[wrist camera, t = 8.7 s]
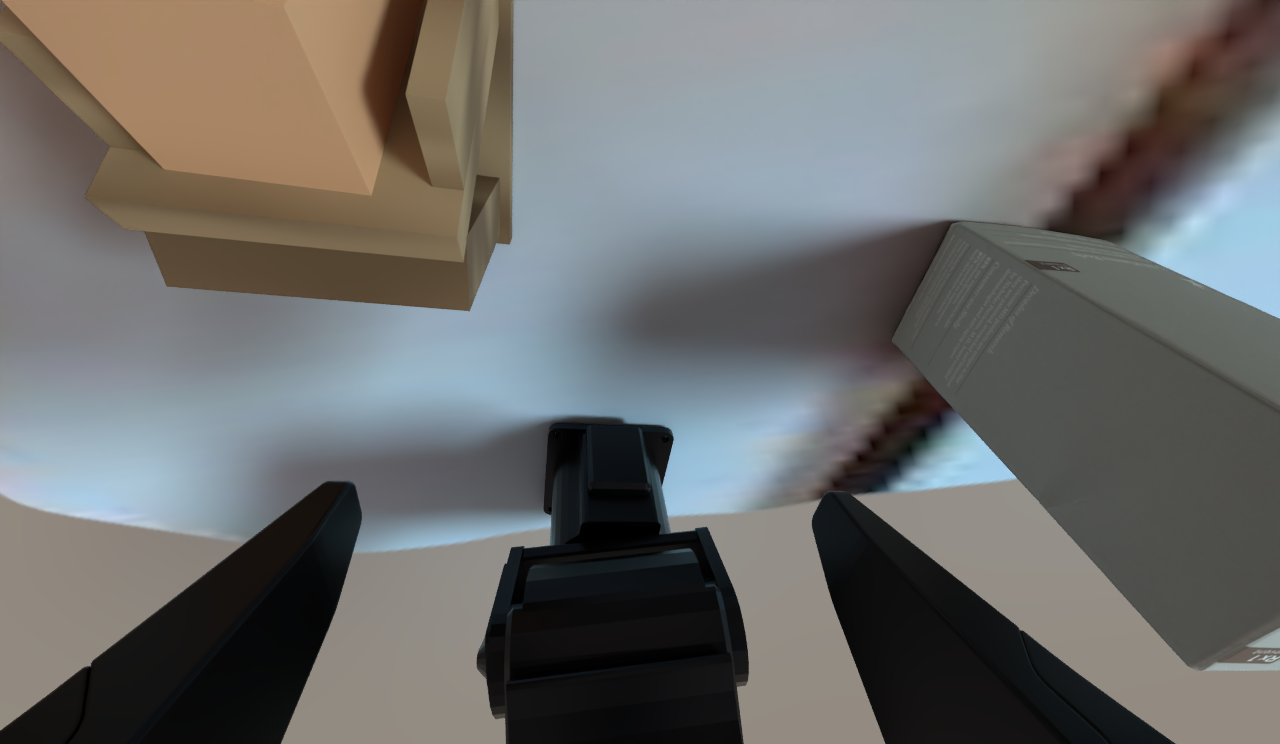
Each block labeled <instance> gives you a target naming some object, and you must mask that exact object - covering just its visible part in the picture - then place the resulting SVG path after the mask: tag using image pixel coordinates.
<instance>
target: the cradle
mask: <svg viewBox="0 0 1280 744" xmlns="http://www.w3.org/2000/svg"><path fill="white" fill-rule="evenodd" d="M0 42H1V43H2V44H3V45H4V46H5V47H6V48H7V49H8V50H10V51H11V52H12V53H13V54H14V55H15V56H16V57H17V58H18V59H19V60H20V61H21V62H22V63H23V64H24V65H25V66H26V67H27V68H28V69H29V70H30V71H31V72H32V73H33V74H34V75H36V76H37V77H38V78H39V79H40V80H41V81H42V82H43V83H44V84H45V85H46V86H47V87H48V88H49V89H50V90H51V91H52V92H53V93H54V94H55V95H56V96H57V97H58V98H59V99H60V100H62V101H63V102H64V103H65V104H66V105H67V106H68V107H69V108H70V109H71V110H72V111H73V112H74V113H75V114H76V115H77V116H78V117H79V118H80V119H81V120H82V121H83V122H84V123H85V124H86V125H88V126H89V127H90V128H91V129H92V130H93V131H94V132H95V133H96V134H97V135H98V136H99V137H100V138H101V139H102V140H103V141H104V142H105V143H106V144H107V145H108V146H109V147H110V148H109V150H108V152H107V154H106V156H105V158H104V160H103V162H102V164H101V166H100V168H99V169H98V171H97V173H96V175H95V177H94V179H93V181H92V183H91V185H90V187H89V189H88V191H87V193H86V195H85V197H84V198H86V199H87V200H88V201H89V202H91V203H92V204H93V205H95V206H96V207H97V208H98V209H100V210H101V211H102V212H103V213H105V214H106V215H107V216H108V217H110V218H111V219H112V220H113V221H115V222H116V223H117V224H118V225H120V226H121V227H122V228H123V229H127V230H138V231H144V232H145V234H146V237H147V239H148V242H149V244H150V246H151V249H152V251H153V254H154V256H155V259H156V261H157V263H158V266H159V268H160V271H161V273H162V276H163V278H164V280H165V283H166V285H167V286H168V287H180V288H193V289H205V290H217V291H230V292H242V293H254V294H267V295H279V296H291V297H304V298H316V299H328V300H341V301H353V302H365V303H378V304H390V305H402V306H415V307H427V308H439V309H452V310H464V311H470V309H471V306H472V304H473V301H474V298H475V296H476V293H477V291H478V288H479V286H480V283H481V281H482V278H483V276H484V273H485V271H486V268H487V265H488V263H489V260H490V258H491V255H492V253H493V250H494V248H495V245H496V243H501V244H510V242H511V239H512V142H513V0H423V3H422V7H421V11H420V14H419V18H418V22H417V26H416V29H415V33H414V37H413V41H412V45H411V48H410V52H409V56H408V60H407V63H406V67H405V71H404V75H403V79H402V82H401V86H400V90H399V94H398V97H397V101H396V105H395V109H394V113H393V116H392V120H391V124H390V128H389V131H388V135H387V139H386V143H385V147H384V150H383V154H382V158H381V162H380V165H379V169H378V173H377V177H376V180H375V184H374V188H373V192H372V196H369V195H361V194H353V193H345V192H338V191H330V190H322V189H314V188H306V187H298V186H291V185H283V184H275V183H267V182H259V181H251V180H244V179H236V178H228V177H220V176H212V175H204V174H197V173H189V172H181V171H173V170H165V169H163V168H162V167H161V166H160V165H159V164H158V163H157V162H156V160H155V159H154V158H153V157H152V156H151V155H150V154H149V153H148V152H147V151H146V150H145V149H144V148H143V147H142V146H141V145H140V144H139V143H138V142H137V141H136V140H135V139H134V138H133V137H132V136H131V134H130V133H129V132H128V131H127V130H126V129H125V128H124V127H123V126H122V125H121V124H120V123H119V122H118V121H117V120H116V119H115V118H114V117H113V116H112V115H111V114H110V113H109V112H108V111H107V110H106V108H105V107H104V106H103V105H102V104H101V103H100V102H99V101H98V100H97V99H96V98H95V97H94V96H93V95H92V94H91V93H90V92H89V91H88V90H87V89H86V88H85V87H84V86H83V85H82V84H81V82H80V81H79V80H78V79H77V78H76V77H75V76H74V75H73V74H72V73H71V72H70V71H69V70H68V69H67V68H66V67H65V66H64V65H63V64H62V63H61V62H60V61H59V60H58V59H57V58H56V56H55V55H54V54H53V53H52V52H51V51H50V50H49V49H48V48H47V47H46V46H45V45H44V44H43V43H42V42H41V41H40V40H39V39H38V38H37V37H36V36H35V35H34V34H33V33H32V32H31V30H30V29H29V28H28V27H27V26H26V25H25V24H24V23H23V22H22V21H21V20H20V19H19V18H18V17H17V16H16V15H15V14H14V13H13V12H12V11H11V10H10V9H9V8H8V7H7V6H5V8H4V9H3V11H2V12H1V13H0Z"/></svg>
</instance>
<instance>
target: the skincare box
mask: <svg viewBox="0 0 1280 744" xmlns="http://www.w3.org/2000/svg"><path fill="white" fill-rule="evenodd" d="M892 343H893V344H895V345H896V346H897V347H898V349H899V350H900V351H901V352H902V353H903V354H904V355H905V356H906V357H907V358H908V359H909V360H910V361H911V362H912V363H913V365H914V366H915V367H916V368H917V369H918V370H919V371H920V372H921V373H922V375H923V376H924V377H925V378H926V379H927V380H928V381H929V382H930V383H931V384H932V386H933V387H934V388H935V389H936V390H937V391H938V392H939V393H940V394H941V395H942V397H943V398H944V399H945V400H946V401H947V402H948V403H949V404H950V405H951V406H952V407H953V409H954V410H955V411H956V412H957V413H958V414H959V415H960V416H961V417H962V418H963V420H964V421H965V422H966V423H967V424H968V425H969V426H970V427H971V428H972V429H973V430H974V431H975V433H976V434H977V435H978V436H979V437H980V438H981V439H982V440H983V441H984V442H985V444H986V445H987V446H988V447H989V448H990V449H991V450H992V451H993V452H994V453H995V455H996V456H997V457H998V458H999V459H1000V460H1001V461H1002V462H1003V463H1004V464H1005V465H1006V466H1007V468H1008V469H1009V470H1010V471H1011V472H1012V473H1013V474H1014V475H1015V476H1016V477H1017V479H1018V480H1019V481H1020V482H1021V483H1022V484H1023V485H1024V486H1025V487H1026V488H1027V489H1028V490H1029V492H1030V493H1031V494H1032V495H1033V496H1034V497H1035V498H1036V499H1037V500H1038V501H1039V502H1040V504H1041V505H1042V506H1043V507H1044V508H1045V509H1046V510H1047V512H1048V513H1049V514H1050V515H1051V516H1052V517H1053V518H1054V519H1055V520H1056V521H1057V523H1058V524H1059V525H1060V526H1061V527H1062V528H1063V529H1064V530H1065V531H1066V532H1067V534H1068V535H1069V536H1070V537H1071V538H1072V539H1073V540H1074V541H1075V542H1076V543H1077V545H1078V546H1079V547H1080V548H1081V549H1082V550H1083V551H1084V552H1085V553H1086V554H1087V556H1088V557H1089V558H1090V559H1091V560H1092V561H1093V562H1094V563H1095V564H1096V566H1097V567H1098V568H1099V569H1100V570H1101V571H1102V572H1103V573H1104V574H1105V576H1106V577H1107V578H1108V579H1109V580H1110V581H1111V582H1112V583H1113V585H1114V586H1115V587H1116V588H1117V589H1118V590H1119V591H1120V592H1121V593H1122V595H1123V596H1124V597H1125V598H1126V599H1127V600H1128V601H1129V602H1130V603H1131V604H1132V606H1133V607H1134V608H1135V609H1136V610H1137V611H1138V612H1139V613H1140V614H1141V615H1142V617H1143V618H1144V619H1145V620H1146V621H1147V622H1148V623H1149V624H1150V625H1151V627H1152V628H1153V629H1154V630H1155V631H1156V632H1157V633H1158V634H1159V635H1160V636H1161V638H1162V639H1163V640H1164V641H1165V642H1166V643H1167V644H1168V645H1169V646H1170V647H1171V648H1172V650H1173V651H1174V652H1175V653H1176V654H1177V655H1178V656H1179V657H1180V658H1181V659H1182V660H1183V661H1184V662H1185V664H1187V666H1189V667H1190V668H1193V669H1195V670H1198V671H1205V670H1239V671H1240V670H1241V671H1243V670H1244V671H1245V670H1246V671H1247V670H1248V671H1253V670H1280V319H1279V318H1277V317H1274V316H1272V315H1270V314H1268V313H1266V312H1263V311H1261V310H1259V309H1257V308H1255V307H1253V306H1250V305H1248V304H1246V303H1244V302H1241V301H1239V300H1237V299H1234V298H1232V297H1230V296H1227V295H1225V294H1223V293H1221V292H1219V291H1217V290H1215V289H1212V288H1210V287H1208V286H1206V285H1204V284H1201V283H1199V282H1197V281H1195V280H1192V279H1190V278H1188V277H1186V276H1183V275H1181V274H1179V273H1177V272H1175V271H1172V270H1170V269H1168V268H1166V267H1163V266H1161V265H1159V264H1157V263H1155V262H1152V261H1150V260H1148V259H1146V258H1144V257H1141V256H1139V255H1137V254H1135V253H1133V252H1131V251H1128V250H1126V249H1124V248H1122V247H1120V246H1118V245H1116V244H1114V243H1111V242H1109V241H1105V240H1099V239H1094V238H1089V237H1084V236H1078V235H1072V234H1066V233H1060V232H1053V231H1047V230H1040V229H1034V228H1025V227H1018V226H1009V225H999V224H987V223H975V222H958V223H953V224H952V225H951V226H950V228H949V230H948V232H947V234H946V236H945V238H944V240H943V242H942V243H941V245H940V247H939V250H938V252H937V254H936V255H935V257H934V259H933V261H932V263H931V265H930V267H929V269H928V271H927V273H926V275H925V277H924V279H923V280H922V282H921V284H920V286H919V288H918V290H917V292H916V294H915V295H914V297H913V299H912V301H911V303H910V305H909V307H908V308H907V310H906V312H905V314H904V316H903V318H902V320H901V322H900V324H899V326H898V328H897V330H896V332H895V334H894V336H893V338H892Z"/></svg>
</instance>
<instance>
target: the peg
mask: <svg viewBox="0 0 1280 744" xmlns="http://www.w3.org/2000/svg"><path fill="white" fill-rule="evenodd" d="M2 1H3V2H4V3H5V4H6V6H7V7H8V8H9V9H10V10H11V11H12V12H13V13H14V14H15V15H16V16H17V17H18V18H19V19H20V20H21V21H22V22H23V23H24V24H25V25H26V26H27V27H28V28H29V29H30V30H31V32H32V33H33V34H34V35H35V36H36V37H37V38H38V39H39V40H40V41H41V42H42V43H43V44H44V45H45V46H46V47H47V48H48V49H49V50H50V51H51V52H52V53H53V54H54V55H55V56H56V58H57V59H58V60H59V61H60V62H61V63H62V64H63V65H64V66H65V67H66V68H67V69H68V70H69V71H70V72H71V73H72V74H73V75H74V76H75V77H76V78H77V79H78V80H79V81H80V82H81V84H82V85H83V86H84V87H85V88H86V89H87V90H88V91H89V92H90V93H91V94H92V95H93V96H94V97H95V98H96V99H97V100H98V101H99V102H100V103H101V104H102V105H103V106H104V107H105V108H106V110H107V111H108V112H109V113H110V114H111V115H112V116H113V117H114V118H115V119H116V120H117V121H118V122H119V123H120V124H121V125H122V126H123V127H124V128H125V129H126V130H127V131H128V132H129V133H130V134H131V136H132V137H133V138H134V139H135V140H136V141H137V142H138V143H139V144H140V145H141V146H142V147H143V148H144V149H145V150H146V151H147V152H148V153H149V154H150V155H151V156H152V157H153V158H154V159H155V160H156V162H157V163H158V164H159V165H160V166H161V167H162V168H163V169H165V170H173V171H181V172H189V173H197V174H204V175H212V176H220V177H228V178H236V179H244V180H251V181H259V182H267V183H275V184H283V185H291V186H298V187H306V188H314V189H322V190H330V191H338V192H345V193H353V194H361V195H369V196H372V192H373V188H374V184H375V180H376V177H377V173H378V169H379V165H380V162H381V158H382V154H383V150H384V147H385V143H386V139H387V135H388V131H389V128H390V124H391V120H392V116H393V113H394V109H395V105H396V101H397V97H398V94H399V90H400V86H401V82H402V79H403V75H404V71H405V67H406V63H407V60H408V56H409V52H410V48H411V45H412V41H413V37H414V33H415V29H416V26H417V22H418V18H419V14H420V11H421V7H422V3H423V0H2Z"/></svg>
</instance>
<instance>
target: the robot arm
mask: <svg viewBox="0 0 1280 744" xmlns="http://www.w3.org/2000/svg"><path fill="white" fill-rule="evenodd" d="M556 432H561V434H555V433H556ZM663 436H667V437H666V438H661V437H663ZM673 440H674V438H673V433H672V431H671V430H670V429H669V428H664V427H641V426H618V425H595V424H571V423H555V424H553V425H551V426H550V427H549V431H548V447H547V463H546V480H545V496H544V512H545V513H546V514H549V515H551V536H550V546H541V547H532V548H525V547H524V546H521V547H512V548H511V550H510V554H509V558H508V562H507V564H505V565H504V568H503V572H502V575H501V579H500V582H499V586H498V590H497V594H496V597H495V601H494V605H493V608H492V612H491V616H490V619H489V623H488V627H487V630H486V635H485V638H484V640H483V643H482V645H481V647H480V649H479V651H478V654H477V669H478V670H479V672H480V673H481V674H482V675H483V676H484V677H485V678H486V679H487V686H488V694H489V701H490V708H491V711H492V714H493V716H494V718H495V719H499V718H505V721H506V722H505V724H506V744H744V743H743V735H742V727H741V719H740V710H739V702H738V695H737V687H738V686H745V685H746V684H747V682H748V674H749V671H748V670H749V661H748V649H747V642H746V635H745V629H744V624H743V619H742V614H741V610H740V606H739V603H738V599H737V596H736V594H735V591H734V588H733V586H732V583H731V581H730V579H729V576H728V574H727V572H726V569H725V567H724V565H723V562H722V560H721V558H720V556H719V553H718V551H717V548H716V546H715V544H714V542H713V539H712V537H711V535H710V532H709V530H708V528H707V527H702V528H695V530H693V531H684V532H674V533H671V531H670V526H669V521H668V516H667V511H666V506H665V501H664V496H663V491H662V484H663V480H664V476H665V472H666V468H667V464H668V460H669V456H670V452H671V448H672V444H673ZM551 506H552V507H551ZM361 520H362V512H361V507H360V503H359V499H358V495H357V491H356V487H355V485H354V483H353V482H351V481H327V482H325V483H323V484H321V485H320V486H319V487H317V488H316V489H315V490H314V491H312V492H311V493H310V494H308V495H307V496H306V497H304V498H303V499H302V500H301V501H299V502H298V503H297V504H295V505H294V506H293V507H291V508H290V509H289V510H288V511H286V512H285V513H284V514H282V515H281V516H280V517H278V518H277V519H276V520H275V521H273V522H272V523H271V524H269V525H268V526H267V527H266V528H264V529H263V530H262V531H260V532H259V533H258V534H256V535H255V536H254V537H253V538H251V539H250V540H249V541H247V542H246V543H245V544H243V545H242V546H241V547H240V548H238V549H237V550H236V551H235V552H233V553H232V554H231V555H229V556H228V557H227V558H225V559H224V560H223V561H221V562H220V563H219V564H218V565H216V566H215V567H214V568H212V569H211V570H210V571H208V572H207V573H206V574H205V575H203V576H202V577H201V578H199V579H198V580H197V581H196V582H194V583H193V584H192V585H190V586H189V587H188V588H186V589H185V590H184V591H183V592H181V593H180V594H179V595H177V596H176V597H175V598H173V599H172V600H171V601H170V602H168V603H167V604H166V605H164V606H163V607H162V608H161V609H159V610H158V611H157V612H155V613H154V614H153V615H151V616H150V617H149V618H147V619H146V620H145V621H144V622H142V623H141V624H140V625H139V626H137V627H136V628H135V629H133V630H132V631H131V632H129V633H128V634H127V635H125V636H124V637H123V638H122V639H120V640H119V641H118V642H116V643H115V644H114V645H112V646H111V647H110V648H109V649H107V650H106V651H105V652H103V653H102V654H101V655H100V656H98V657H97V658H96V659H94V660H93V661H92V663H91V667H90V666H87V667H84V668H82V669H81V670H80V671H78V672H77V673H76V674H75V675H73V676H72V677H71V678H69V679H68V680H67V681H66V682H64V683H63V684H62V685H60V686H59V687H58V688H57V689H55V690H54V691H52V692H51V693H50V694H49V695H47V696H46V697H45V698H43V699H42V700H41V701H39V702H38V703H37V704H35V705H34V706H33V707H31V708H30V709H29V710H27V711H26V712H24V713H23V714H22V715H21V716H19V717H18V718H16V719H15V720H14V721H12V722H11V723H10V724H9V725H7V726H6V727H4V728H3V729H2V730H0V744H281V742H282V740H283V737H284V735H285V732H286V730H287V728H288V725H289V723H290V720H291V718H292V715H293V713H294V711H295V708H296V706H297V704H298V701H299V699H300V696H301V694H302V692H303V689H304V687H305V684H306V682H307V679H308V677H309V675H310V672H311V670H312V667H313V665H314V662H315V660H316V658H317V655H318V653H319V651H320V648H321V646H322V643H323V641H324V639H325V636H326V633H327V631H328V629H329V626H330V624H331V621H332V619H333V616H334V614H335V611H336V608H337V605H338V602H339V598H340V595H341V592H342V588H343V585H344V581H345V578H346V574H347V571H348V567H349V564H350V560H351V557H352V554H353V550H354V547H355V543H356V540H357V536H358V533H359V529H360V526H361ZM812 529H813V533H814V537H815V540H816V544H817V548H818V551H819V555H820V559H821V563H822V567H823V570H824V574H825V578H826V582H827V585H828V589H829V592H830V595H831V599H832V602H833V605H834V608H835V610H836V613H837V616H838V619H839V621H840V624H841V626H842V629H843V632H844V634H845V637H846V640H847V643H848V645H849V648H850V650H851V653H852V656H853V659H854V661H855V664H856V667H857V669H858V672H859V675H860V677H861V679H862V683H863V685H864V687H865V690H866V693H867V696H868V698H869V701H870V704H871V706H872V709H873V712H874V714H875V717H876V720H877V722H878V725H879V727H880V730H881V733H882V736H883V738H884V741H885V744H1175V743H1174V742H1172V741H1171V740H1169V739H1168V738H1166V737H1165V736H1164V735H1162V734H1161V733H1159V732H1158V731H1157V730H1155V729H1154V728H1153V727H1151V726H1150V725H1148V724H1147V723H1146V722H1144V721H1143V720H1141V719H1140V718H1139V717H1137V716H1136V715H1134V714H1133V713H1132V712H1130V711H1129V710H1127V709H1126V708H1125V707H1123V706H1122V705H1120V704H1119V703H1118V702H1116V701H1115V700H1113V699H1112V698H1111V697H1109V696H1108V695H1107V694H1105V693H1104V692H1103V691H1101V690H1100V689H1098V688H1097V687H1096V686H1094V685H1093V684H1092V683H1090V682H1089V681H1087V680H1086V679H1085V678H1083V677H1082V676H1081V675H1079V674H1078V673H1077V672H1075V671H1074V670H1073V669H1071V668H1070V667H1069V666H1068V665H1066V664H1065V663H1063V662H1062V661H1061V660H1060V659H1058V658H1057V657H1056V656H1054V655H1053V654H1052V653H1050V652H1049V651H1048V650H1047V649H1045V648H1044V647H1043V646H1042V645H1040V644H1039V643H1038V642H1037V641H1035V640H1034V639H1033V638H1032V637H1030V636H1029V635H1028V634H1027V633H1025V632H1024V631H1021V630H1019V628H1018V627H1017V626H1016V625H1015V624H1014V623H1012V622H1011V621H1010V620H1009V619H1007V618H1006V617H1005V616H1004V615H1002V614H1001V613H1000V612H999V611H997V610H996V609H995V608H993V607H992V606H991V605H990V604H988V603H987V602H986V601H985V600H983V599H982V598H981V597H980V596H978V595H977V594H976V593H975V592H973V591H972V590H971V589H969V588H968V587H967V586H966V585H964V584H963V583H962V582H961V581H959V580H958V579H957V578H955V577H954V576H953V575H952V574H951V573H949V572H948V571H947V570H946V569H944V568H943V567H942V566H940V565H939V564H938V563H937V562H935V561H934V560H933V559H932V558H930V557H929V556H928V555H926V554H925V553H924V552H923V551H922V550H920V549H919V548H918V547H916V546H915V545H914V544H913V543H911V542H910V541H909V540H908V539H906V538H905V537H904V536H903V535H901V534H900V533H899V532H898V531H896V530H895V529H894V528H893V527H891V526H890V525H889V524H887V523H886V522H885V521H883V520H882V519H881V518H880V517H879V516H877V515H876V514H875V513H874V512H872V511H871V510H870V509H868V508H867V507H866V506H865V505H863V504H862V503H861V502H860V501H858V500H857V499H856V498H855V497H853V496H852V495H851V494H849V493H848V492H845V491H828V492H826V493H825V494H824V496H823V497H822V499H821V501H820V503H819V505H818V507H817V510H816V511H815V513H814V515H813V518H812Z"/></svg>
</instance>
